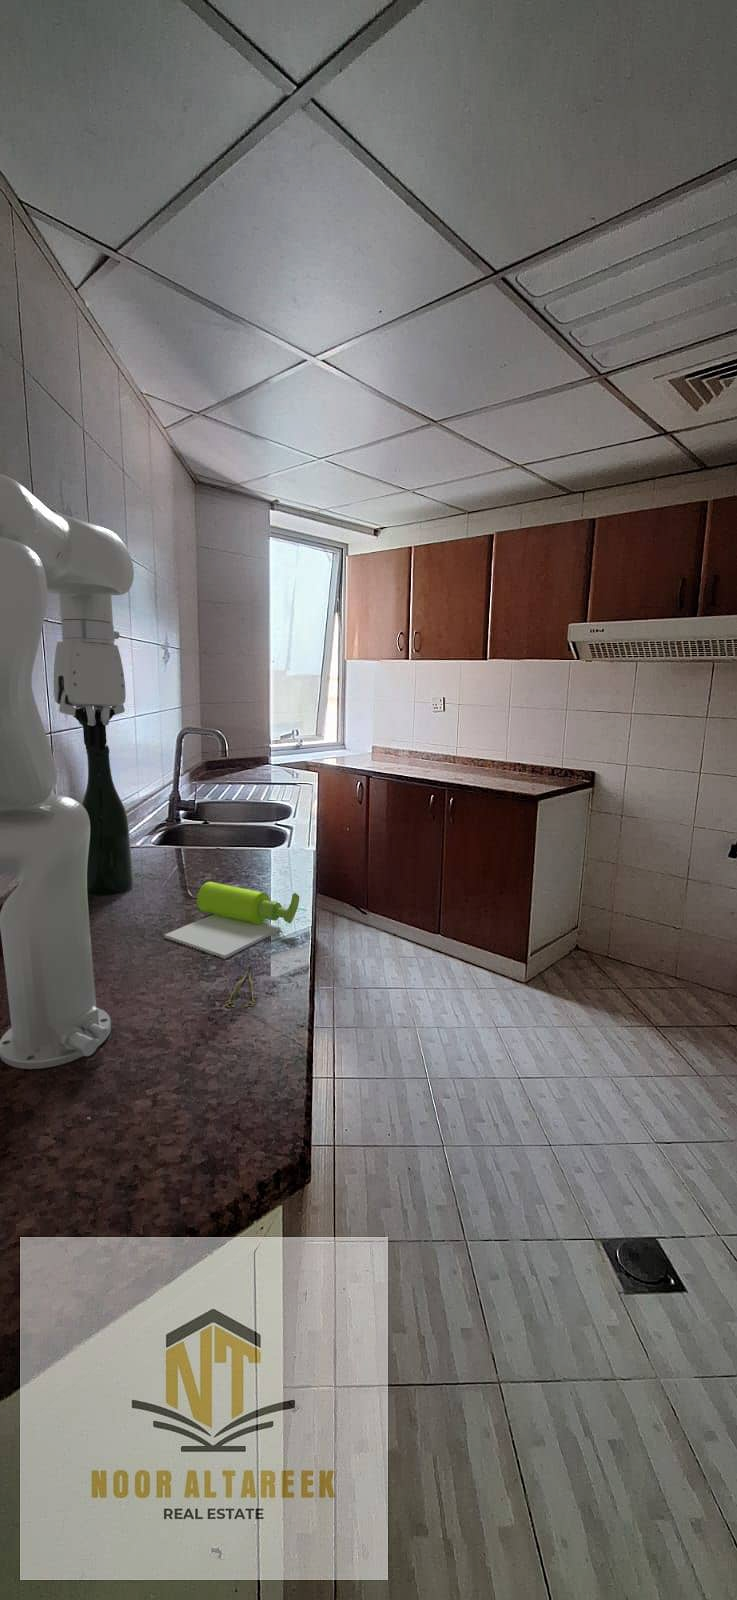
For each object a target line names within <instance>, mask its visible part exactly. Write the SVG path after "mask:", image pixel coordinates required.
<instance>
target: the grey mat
mask: <svg viewBox="0 0 737 1600" xmlns="http://www.w3.org/2000/svg"><path fill="white" fill-rule="evenodd" d="M280 931H281V927H280V926H278V925H274V924H271V923H267V922H264V921H263V922H262V923H260V924H255V923H251V922H247V921H243V920H238V919H234V918H230V917H226V916H221V915H217V914H213V913H212V914H211V915H210V914H209V916H206V917H203V918H200V919H199V920H195V921H193V922H191V923H188V924H187V925H183V926H182V927H180V928H177V929H174V930H173V931H169V932H168V933H165V934H164V939H167V940H169V941H172V940H173V942H175V941H176V943H178V942H179V943H178V944H181V943H182V945H184V944H185V945H184V946H187V945H188V946H187V947H189V948H192V947H193V949H195V948H196V949H195V950H198V949H200V950H199V951H201V950H203V951H202V952H204V951H205V952H204V953H208V954H210V955H213V956H215V955H216V957H218V956H219V958H221V959H224V960H226V959H227V958H229V957H231V956H233V955H235V954H237V953H240V952H241V951H243V950H246V949H247V948H249V947H251V946H252V945H255V944H257V943H259V942H261V941H262V940H265V939H267V938H268V937H270V936H273V935H275V934H276V933H278V932H280Z"/></svg>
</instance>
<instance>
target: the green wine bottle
mask: <svg viewBox="0 0 737 1600" xmlns="http://www.w3.org/2000/svg"><path fill="white" fill-rule="evenodd" d="M85 750H86V749H85ZM85 753H86V755H87V783H86V788H85V789H86V790H85V793H84V794H83V795H84V796H83V799H82V802H81V803H80V804H81V805H82V806H83V807H84V808H85V809H86V811H87V813H88V815H89V819H90V842H89V852H88V863H87V895H88V896H90V897H91V896H92V897H93V896H94V897H107V896H109V897H110V896H115V895H119V894H122V893H126V892H128V890H130V889H131V888H132V887H133V885H134V873H133V872H134V871H133V857H132V848H131V836H130V826H129V821H128V815H127V811H126V809H125V808H126V807H125V806H124V803H123V801H122V799H121V798H120V796H119V793H118V791H117V789H116V787H115V783H114V781H113V775H112V769H111V761H110V748H109V745H107V744H106V750H99V751H93V750H86V752H85Z"/></svg>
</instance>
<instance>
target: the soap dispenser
mask: <svg viewBox="0 0 737 1600" xmlns="http://www.w3.org/2000/svg"><path fill="white" fill-rule="evenodd" d="M291 896H292V897H291V900H290V904H289V906H288V908H283V907H282V904H281V903H280V902H278V901H275V900H274V901H273V900H271V898H270V895H268V893H266V892H263V891H259V890H252V889H248V888H243V887H238V886H235V885H230V884H224V883H219V882H214V881H207V882H204V884H203V885H201V887H200V889H199V890H198V892H197V897H196V904H197V907H198V909H199V910H200V911H202V912H205V913H209V914H212V915H213V914H217V915H221V916H226V917H230V918H234V919H238V920H243V921H247V922H251V923H255V924H260V923H262V922H264V921H265V920H269V921H278V920H279V918H282V919H283V921H285V923H287V924H292V922H293V920H294V917H295V915H296V913H297V912H298V911H297V909H298V907H299V904H300V903H299V902H300V895H298V893H296V892H293V893H292V895H291Z"/></svg>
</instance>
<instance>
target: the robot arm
mask: <svg viewBox="0 0 737 1600" xmlns="http://www.w3.org/2000/svg"><path fill="white" fill-rule="evenodd" d="M134 572H135V571H134V564H133V560H132V557H131V554H130V551H129V549H128V547H127V545H126V544H125V543H124V542H123V541H122V539H121V538H120V537H119V535H117V534H116V533H114V532H113V531H112V530H109V529H107V528H105V527H102V526H99V525H97V524H93V523H91V522H88V521H87V522H86V521H85V520H80V519H77V518H75V517H72V516H69V515H66V514H64V513H60V512H57V511H53V510H51V509H49V508H48V507H47V506H46V505H44V503H42V501H40V500H39V499H38V498H37V497H36V496H35V495H34V494H32V493H31V492H30V491H29V490H28V489H27V488H26V487H24V486H23V485H22V484H21V483H20V482H18V481H17V480H15V479H13V478H11V477H9V476H7V475H5V474H2V473H0V877H7V878H8V877H9V878H10V877H14V878H15V877H16V878H18V879H19V883H18V885H17V887H16V888H15V889H14V890H13V891H12V892H11V894H10V895H9V896H8V897H7V898H6V899H5V901H4V903H3V905H2V907H1V910H0V936H1V937H0V938H1V945H2V946H1V947H2V954H3V963H4V971H5V979H6V988H7V998H8V999H7V1000H8V1007H9V1008H8V1009H9V1015H10V1017H9V1019H10V1028H9V1029H8V1030H7V1031H6V1032H5V1033H4V1034H3V1035H2V1036H1V1038H0V1059H1V1061H3V1062H4V1064H7V1065H8V1066H11V1067H12V1068H18V1069H24V1070H25V1069H26V1070H37V1069H41V1070H42V1069H46V1068H52V1067H56V1066H57V1067H58V1066H61V1065H64V1064H68V1063H71V1062H73V1061H76V1060H78V1059H79V1058H83V1057H89V1056H91V1055H93V1054H94V1053H95V1052H96V1050H97V1048H99V1046H101V1045H102V1044H103V1043H104V1042H105V1041H106V1040H107V1038H108V1036H109V1035H110V1033H111V1031H112V1022H111V1021H112V1019H111V1018H110V1017H111V1016H110V1015H109V1014H108V1013H107V1012H106V1011H105V1010H103V1009H101V1008H99V1007H97V1001H96V1000H97V999H96V987H95V976H94V962H93V961H94V960H93V951H92V950H93V949H92V939H91V938H92V937H91V927H90V925H91V924H90V913H89V912H90V911H89V898H88V897H89V895H88V894H87V863H88V852H89V842H90V819H89V815H88V813H87V811H86V809H85V808H84V807H83V806H82V805H81V804H82V803H80V802H79V801H77V800H76V799H74V798H72V797H69V796H66V795H61V794H60V795H59V794H53V793H54V791H55V788H56V786H57V774H58V773H57V768H56V763H55V758H54V755H53V751H52V749H51V745H50V741H49V739H48V736H47V733H46V730H45V727H44V724H43V721H42V717H41V714H40V711H39V709H38V706H37V703H36V700H35V696H34V692H33V688H32V687H33V685H32V683H33V681H32V680H33V678H32V675H33V670H34V665H35V660H36V657H37V654H38V653H37V652H38V648H39V644H40V641H41V636H42V631H43V627H44V622H45V621H44V620H45V617H46V616H45V614H46V607H47V602H48V601H47V600H48V593H52V594H57V595H58V597H59V599H58V600H59V610H60V624H61V637H62V640H61V641H56V647H55V652H54V654H55V655H54V661H53V662H54V663H53V665H54V666H53V696H54V701H55V703H56V704H58V705H59V708H58V711H59V713H61V714H64V715H68V716H72V717H73V718H75V719H76V720H77V721H78V724H79V725H80V726H82V732H83V743H84V745H85V750H93V751H99V750H106V745H107V740H108V739H107V731H106V730H107V727H108V725H109V724H110V721H111V719H112V718H113V717H114V716H116V715H120V714H123V713H124V712H125V706H124V705H125V703H126V697H127V696H126V682H125V681H126V680H125V672H124V667H123V662H122V657H121V653H120V650H119V647H118V645H117V644H115V640H119V639H120V635H121V634H120V632H119V630H115V629H114V627H115V626H114V621H113V620H114V619H113V602H112V599H113V598H112V596H121V595H125V594H127V593H128V592H129V591H130V589H131V588H132V586H133V582H134V576H135V573H134Z"/></svg>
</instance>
